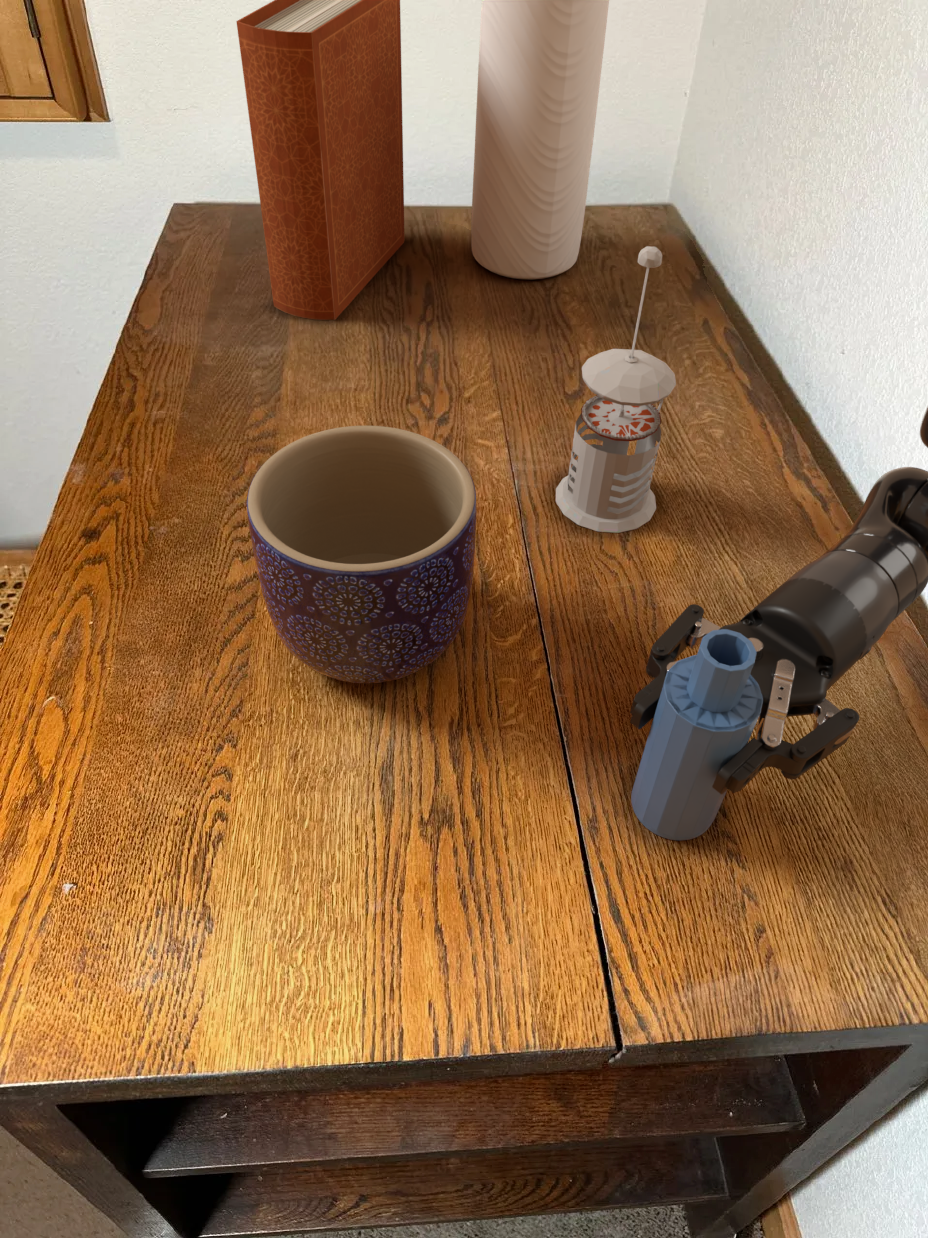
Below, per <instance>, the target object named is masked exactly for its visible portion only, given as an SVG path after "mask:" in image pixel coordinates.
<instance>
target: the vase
mask: <svg viewBox="0 0 928 1238" xmlns="http://www.w3.org/2000/svg"><path fill="white" fill-rule="evenodd" d="M609 5H610V0H481V11H480V31H479V47H478V48H479V49H478V67H477V90H476V109H475V110H476V111H475V131H474V132H475V133H474V156H473V177H472V197H471V198H472V199H471V223H470V224H471V225H470V226H471V231H470V235H471V237H470V238H471V239H470V241H471V245H470V246H471V247H470V248H471V253H472V256H473V257H474V259H475V261H476V262H477V263H478V265H480V266H481V267H483V268H484V269H486V270H488V271H489V272H491V273H493V274H496V275H499V276H502V277H505V278H509V279H518V280H528V281H529V280H541V279H548V278H552V277H555V276H558V275H561V274H562V273H565V272H567V271H568V270H570V269H571V268H572V267H573V266H574V265H575V264H576V262H577V261H578V257H579V252H580V247H581V242H582V235H583V229H584V220H585V213H586V207H587V206H586V205H587V197H588V196H587V195H588V187H589V180H590V179H589V178H590V172H591V171H590V170H591V162H592V153H593V145H594V136H595V128H596V120H597V119H596V118H597V110H598V101H599V93H600V87H601V86H600V84H601V77H602V67H603V59H604V49H605V41H606V32H607V23H608V13H609V7H610V6H609Z"/></svg>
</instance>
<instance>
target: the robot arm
mask: <svg viewBox="0 0 928 1238" xmlns="http://www.w3.org/2000/svg"><path fill="white" fill-rule="evenodd" d="M919 437H920V440H921V443H922V444H923V446H925V448H927V449H928V406H927V407H926V409H925V412H924V414H923V417H922V420H921V423H920V427H919ZM927 585H928V470H927V469H926V470H925V469H923V468H919V467H916V466H903V467H902V466H901V467H897V468H893V469H891V470H888V471H887V472H885V473H883V474H882V475H881V476H880V477H879V478H878V479H877V480H876V481H875V482H874V484H873V486H872V487H871V488H870V491H869V492H868V495H867V496H866V499H865V501H864V503H863V505H862V508H861V510H860V512H859V514H858V517H857V518H856V519H855V521H854V523H853V524H852V525H851V527H850V528H849V530H848V531H847V532H846V533H845V535H844V536H843V537H842V538H840V540H839V541H837V542H836V543H835V544H834V545H833V546H831V547H830V548H828V550H827V551H825V552H824V553H823V554H822V555H820V556H819V557H818V558H816V559H814V560H813V561H811V562H809V563H807V564H805V565H804V566H803V567H802V568H800V569H799V570H797V571H796V572H795V573H793V575H791V576H790V577H789V578H788V579H787V580H786V581H784V582H783V583H781V585H780V586H779V587H777V588H775V590H774V591H772V592H771V593H770V594H769V595H768V596H766V597H765V598H763V600H762V601H760V602H759V603H758V604H757V605H755V607H754V608H752V609H751V610H750V611H749V612H748V613H746V614H745V615H744V616H743V617H742V618H741V619H740V620H738V621H737V622H734V623H732V624H726V625H723V626H722V627H720V626H719V625H717V624H715V623H713V622H712V621H711V620H709V619H706V618H705V617H704V614H705V609H704V608H703V607H702V606H701V605H699V604H693V603H692V604H689V605H688V606H687V607H686V608H684V610H683V611H682V613H681V614H680V615H679V616H678V617H676V619H675V620H674V621H673V622H672V623H671V624H670V626H668V628H667V629H666V630H665V631H664V632H663V633H662V634H661V635H660V636H659V638H657V640H656V641H655V642H654V643H653V644H652V646H651V649H650V653H649V656H648V660H647V664H646V666H645V667H646V668H645V671H646V672H645V673H646V674H647V675H648V676H649V677H650V678H653V680H652V681H650V682H649V683H647V684H646V685H645V686H644V687H643V688H642V689H640V690H639V691H637V692H636V694H635V696H634V698H633V700H632V704H631V709H630V712H629V713H630V714H631V718H630V720H629V723H630V724H631V725H632V726H633V727H635V728H636V729H637V730H641V729H642V728H644V727H645V726H646V725H648V723H649V722H651V721H653V718H654V715H655V712H656V708H657V705H658V701H659V698H660V695H661V691H662V688H663V684H664V681H665V678H666V674H667V672H668V670H669V669H670V668H671V667H672V666H673V665H674V664H675V663H677V662H678V661H679V660H677V659H678V658H679V657H680V656H681V654H682V653H684V651H685V650H686V649H687V648H689V649H695V648H696V647H697V646H700V644H701V641H702V638H703V637H704V636H705V635H707V634H708V633H709V632H711V631H713V630H721V629H728V630H731V631H735V632H738V633H741V634H742V635H743V636H745V637H746V638H747V639H749V640H750V641H751V642H752V644H753V646H754V648H755V650H756V652H757V654H756V659H755V663H754V665H753V668H752V670H751V673H750V674H751V676H752V677H753V678H754V679H755V680H756V682H757V683H758V684H759V687H760V691H761V694H762V697H763V703H762V708H761V713H760V716H759V718H758V720H757V723H756V729H755V730H756V731H755V735H754V737H753V738H752V739H750V740H749V741H748V743H747V744H746V745H745V746H744V747H743V748H742V749H741V750H740V751H739V752H738V753H737V754H736V755H735V756H734V757H733V758H732V759H731V760H730V761H729V762H727V763H726V764H725V765H724V766H723V767H722V768H721V770H720V771H719V772H718V774H717V776H716V779H715V781H714V784H713V786H712V788H714V789H715V790H716V791H717V792H719V793H720V794H721V795H722V794H723V793H724V792H725V791H726V790H727V791H729V792H731V793H732V794H735V793H738V792H741V791H742V790H743V789H744V788H745V787H746V786H747V785H748V784H749V783H750V782H751V781H752V780H753V779H754V778H755V777H756V776H757V775H758V774H759V773H760V772H761V771H762V770H763V769H765V768H774V769H776V770H779V771H780V772H781V775H782V776H783V777H785V778H786V779H788V780H797V779H798V778H800V777H802V775H804V774H805V773H807V772H809V770H811V769H812V768H813V767H815V766H816V765H818V764H819V763H820V762H822V761H823V760H824V759H826V758H827V757H829V756H830V755H831V754H833V753H834V752H835V751H837V750H838V749H839V748H841V747H843V745H845V744H846V743H847V742H848V740H849V738H850V736H851V735H852V733H853V731H854V729H855V728H856V725H857V724H858V723H859V721H860V715H859V713H858V711H856V710H855V709H853V708H850V707H844V708H842V709H840V708H839V707H837V706H836V705H835V704H833V702H831V701H830V700H829V699H827V691H829V690H830V688H832V686H834V685H835V684H836V683H837V682H838V681H839V680H840V679H841V678H842V677H844V675H845V674H846V673H847V672H849V670H850V669H851V668H852V667H853V666H854V665H855V664H856V663H857V662H859V660H862V659H863V658H865V656H867V655H868V654H869V653H870V651H872V648H873V647H874V646H875V645H876V644H877V643H878V642H879V640H880V639H881V638H882V636H884V634H885V633H886V631H887V629H888V628H889V626H890V625H891V624H892V623H893V622H894V621H895V620H896V619H897V618H898V617H899V616H900V615H901V614H902V613H903V612H904V611H905V610H906V609H908V607H909V606H911V605H912V604H913V603H914V602H915V601H916V600H917V599H918V598H919V597H920V596H921V594H922V593H923V591H924V590H925V589H926V587H927ZM810 715H814V716H815V718H816V719H815V721H814V723H813V725H812V730H811V731H810V732H808V733H807V734H805V735H804V736H803V737H801V738H800V739H798V740H797V741H795V742H794V743H791V742H788V741H786V740H783V734H784V728H785V721H786V718H790V717H800V716H810Z"/></svg>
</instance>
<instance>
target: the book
mask: <svg viewBox="0 0 928 1238" xmlns="http://www.w3.org/2000/svg"><path fill="white" fill-rule="evenodd" d="M401 23H402V22H401V0H272V1H270V2H269V3H267V4H265V5H262V7H259V8H257V9H256V10H254V11H252V12H250V13H249V14H247V15H245V16H243V17H241V18H239V19H237V20H236V28H237V38H238V43H239V51H240V59H241V60H240V61H241V67H242V73H243V83H244V89H245V98H246V104H247V105H246V106H247V113H248V121H249V127H250V135H251V142H252V143H251V144H252V150H253V151H252V152H253V157H254V158H253V159H254V166H255V174H256V180H257V189H258V195H259V196H258V197H259V204H260V210H261V218H262V219H261V220H262V226H263V234H264V242H265V249H266V256H267V257H266V258H267V263H268V272H269V279H270V287H271V294H272V301H273V303H272V304H273V307H274V308H275V309H277V310H279V311H281V312H284V313H285V314H288V315H291V316H294V317H297V318H302V319H308V320H320V321H335V320H337V318H339V316H340V315H341V314H342V313H343V312H344V311H345V310H346V308H347V307H348V306H349V305H350V304H351V303H352V302H353V300H354V299H355V298H356V297H357V296H358V295H359V294H360V292H362V291H363V289H364V288H365V287H366V286H367V285H368V284H369V283H370V282H371V280H372V279H373V278H374V277H375V276H376V274H377V273H379V271H380V270H381V269H382V268H383V267H384V266H385V264H387V262H389V260H390V259H391V258H392V257H393V256H394V255H395V253H396V252H397V251H398V250H399V249H400V248H401V247H402V245H403V244H404V243H405V242H406V241H405V238H406V236H405V235H406V234H405V233H406V232H405V190H404V189H405V185H404V183H405V182H404V141H403V140H404V137H403V136H404V134H403V133H404V131H403V129H404V128H403V127H404V126H403V82H402V79H403V78H402V74H403V73H402V28H401V27H402V24H401Z"/></svg>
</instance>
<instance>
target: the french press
mask: <svg viewBox="0 0 928 1238" xmlns="http://www.w3.org/2000/svg"><path fill="white" fill-rule="evenodd" d="M662 262H663V254H662V251H661V250H660V249H659V248H658V247H657V246H649V245H646V246H645V247H643V248H642V249H640V251H639V252H638V256H637V263H638V264H639V265H640V266H642V267H644V268H646V269H645V275H644V281H643V286H642V291H641V295H640V296H641V297H640V303H639V307H638V313H637V320H636V324H635V330H634V335H633V340H632V345H631V346H632V347H631V349H625V348H612V349H607V350H604V351H602V352H598V353H597V354H595V355H593V356H591V357H589V358H587V359H586V360H585V362H584V364H583V365H582V366H581V377H582V380H583V382H584V383H585V385H586V386H587V388H588V389H589V390H590V392H591V393H593V395H594V396H592V397H590V398H589V399H587V400H585V402H584V403H583V405H581V408H580V414H579V416H578V417H577V419H576V421H575V425H574V433H573V440H572V448H571V452H570V455H571V456H570V460H569V466H568V474H567V475H566V476H564V477H562V479H561V481H560V482H559V484H558V485H557V486H556V488H555V503H556V505H557V506H558V508H559V510H560V511H561V513H562V515H563V516H565V517H566V518H568V519H569V520H570V521H572V522H573V523H575V525H578V526H581V527H584V528H586V529H589V530H593V531H595V532H601V533H615V534H617V533H624V532H628V531H632V530H637V529H639V528H640V527H642V526H644V525H645V524H647V523H648V522H650V521H651V519H652V517H653V515H654V514H655V511H656V510H657V503H656V495H655V494H654V492H653V491H652V490H651V483H652V480H653V473H654V471H655V466H656V461H657V457H658V452H659V449H660V445H661V440H662V439H661V438H662V429H661V424H662V416H661V412H660V411H661V408H662V406H663V403H664V399H666V398H668V397H669V396H670V395H671V393H673V390H674V389H675V388H676V386H677V382H676V374H675V372H674V371H673V370H672V369H671V368H670V366H669V365H668V364H667V363H666V362H665V361H663V360H661V359H659V358H658V357H656V356H654V355H652V354H650V353H648V352H646V351H643V350H641V349H636V344H637V343H636V342H637V339H638V338H637V337H638V331H639V327H640V322H641V315H642V311H643V305H644V300H645V294H646V289H647V285H648V284H647V283H648V278H649V272H650V268H651V269H652V268H653V269H655V268H658V267H660V266H661V265H662ZM657 403H659V405H658V407H656V406H655V404H657ZM582 423H584V425H583V426H582V427H580V428H579V426H580V425H581V424H582ZM586 430H590V431H592V432H593V433H586V434H584V435H583V436H581V434H583V433H584V432H585V431H586ZM590 440H598V441H601V442H602V445H601V444H596V443H592V444H589V443H587V442H586V441H590ZM635 441H636V444H635V450H634V454H628V450H629V445H630V442H635ZM576 457H577V459H576Z"/></svg>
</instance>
